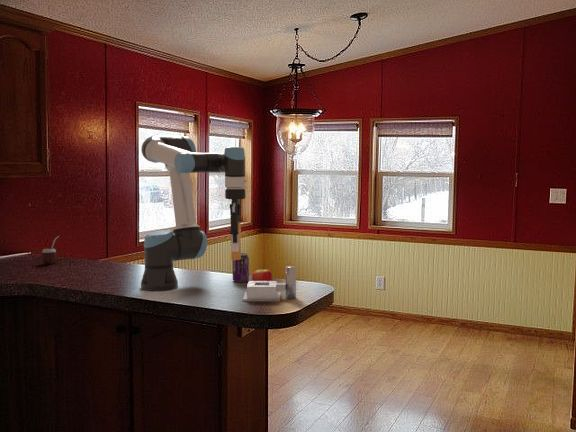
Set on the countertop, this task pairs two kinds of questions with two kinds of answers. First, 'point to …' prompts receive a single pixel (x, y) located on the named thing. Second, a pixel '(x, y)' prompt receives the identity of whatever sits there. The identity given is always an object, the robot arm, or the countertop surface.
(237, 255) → the orange rectangular block
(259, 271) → the apple
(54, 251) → the mate gourd
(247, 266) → the beverage can
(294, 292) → the white block with post
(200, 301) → the countertop surface
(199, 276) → the countertop surface
